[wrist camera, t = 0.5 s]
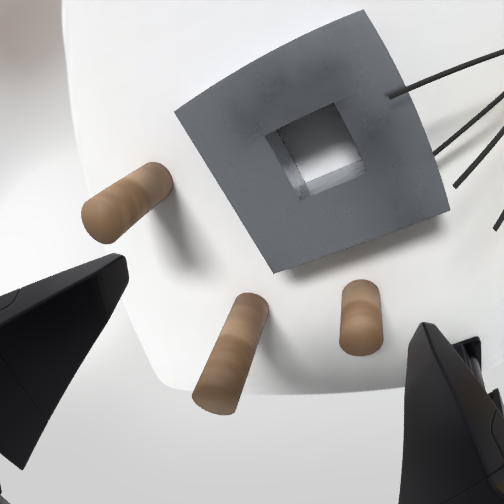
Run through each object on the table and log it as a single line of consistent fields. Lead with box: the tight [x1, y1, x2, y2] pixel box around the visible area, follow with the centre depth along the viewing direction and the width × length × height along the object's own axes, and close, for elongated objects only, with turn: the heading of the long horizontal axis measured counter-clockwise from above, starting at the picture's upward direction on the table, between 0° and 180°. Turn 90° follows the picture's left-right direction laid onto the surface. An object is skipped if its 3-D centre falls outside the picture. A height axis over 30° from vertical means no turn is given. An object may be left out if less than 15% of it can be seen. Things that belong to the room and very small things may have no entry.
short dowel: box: [339, 280, 383, 356], centre depth 22 cm, size 3×3×5 cm
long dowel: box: [192, 293, 269, 415], centre depth 23 cm, size 3×3×10 cm
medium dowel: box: [81, 162, 173, 244], centre depth 20 cm, size 3×3×7 cm
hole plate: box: [174, 10, 450, 274], centre depth 18 cm, size 12×12×3 cm
